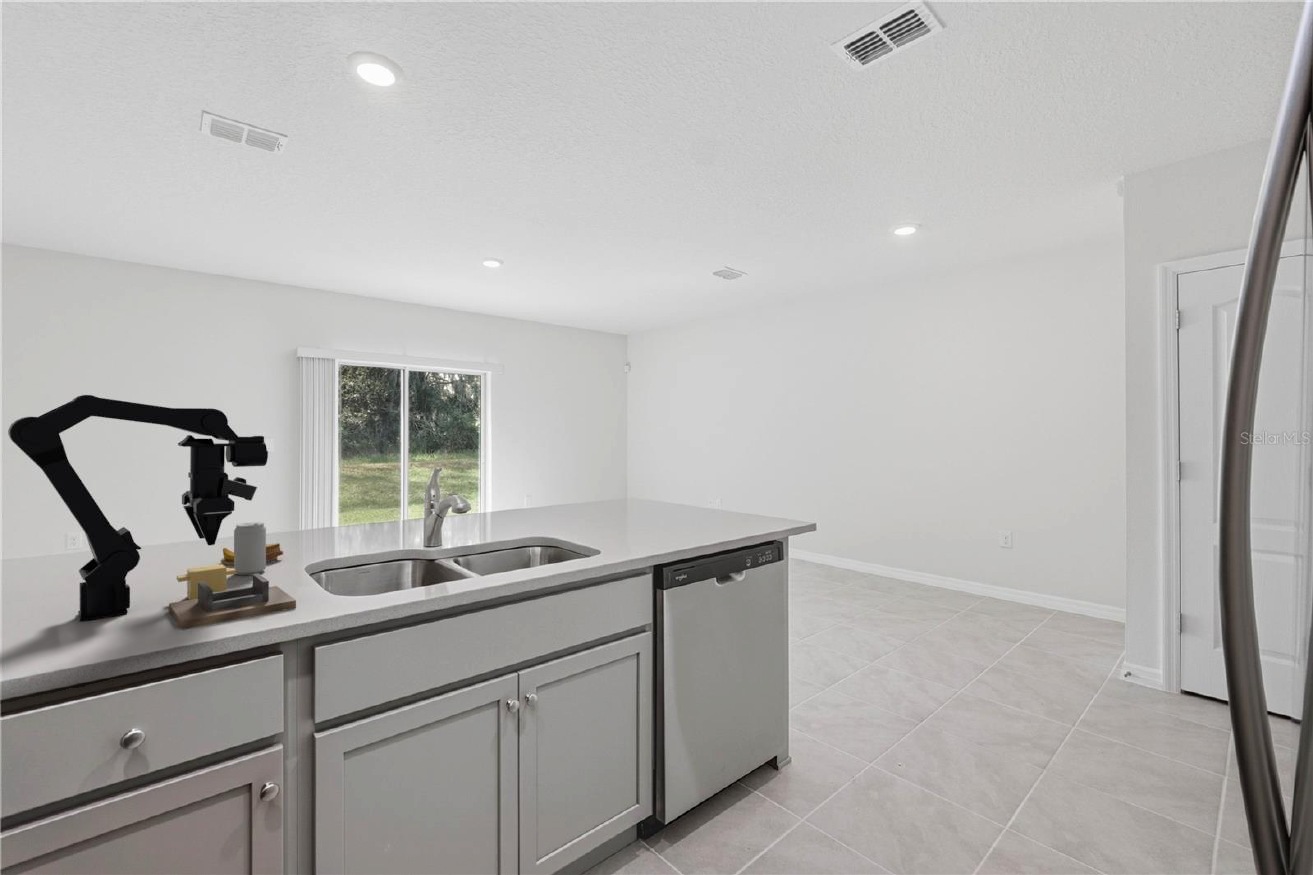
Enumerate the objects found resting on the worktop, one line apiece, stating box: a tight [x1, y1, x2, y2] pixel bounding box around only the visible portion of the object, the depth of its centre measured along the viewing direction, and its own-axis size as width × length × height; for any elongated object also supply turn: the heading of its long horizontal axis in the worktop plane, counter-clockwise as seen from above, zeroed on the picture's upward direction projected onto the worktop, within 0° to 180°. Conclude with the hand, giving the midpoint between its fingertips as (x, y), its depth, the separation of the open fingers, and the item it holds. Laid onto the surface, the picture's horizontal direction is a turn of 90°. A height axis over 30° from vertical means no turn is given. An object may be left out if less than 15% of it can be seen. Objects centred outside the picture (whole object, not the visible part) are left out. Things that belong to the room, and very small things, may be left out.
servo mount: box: [168, 573, 297, 630], centre depth 115 cm, size 18×14×6 cm
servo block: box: [176, 563, 237, 600], centre depth 123 cm, size 10×4×6 cm, turn 137°
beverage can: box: [233, 521, 267, 576], centre depth 142 cm, size 6×6×12 cm
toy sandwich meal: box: [220, 542, 284, 567], centre depth 153 cm, size 12×14×5 cm
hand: (206, 541), depth 123 cm, fingers open, 9 cm apart
